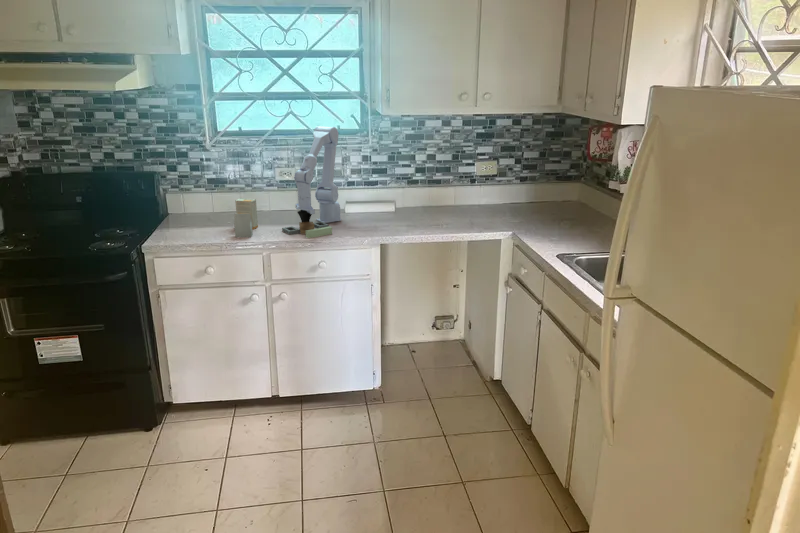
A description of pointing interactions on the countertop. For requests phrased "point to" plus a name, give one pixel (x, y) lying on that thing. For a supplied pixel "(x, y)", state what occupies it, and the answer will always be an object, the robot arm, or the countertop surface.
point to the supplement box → (247, 209)
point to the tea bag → (243, 225)
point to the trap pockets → (320, 231)
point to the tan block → (305, 226)
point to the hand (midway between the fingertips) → (305, 226)
